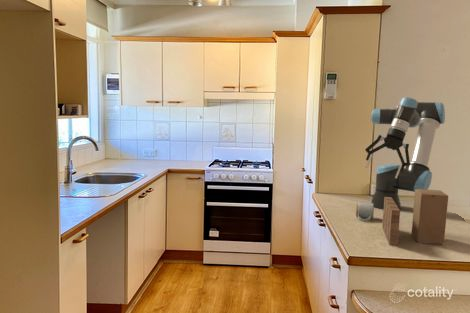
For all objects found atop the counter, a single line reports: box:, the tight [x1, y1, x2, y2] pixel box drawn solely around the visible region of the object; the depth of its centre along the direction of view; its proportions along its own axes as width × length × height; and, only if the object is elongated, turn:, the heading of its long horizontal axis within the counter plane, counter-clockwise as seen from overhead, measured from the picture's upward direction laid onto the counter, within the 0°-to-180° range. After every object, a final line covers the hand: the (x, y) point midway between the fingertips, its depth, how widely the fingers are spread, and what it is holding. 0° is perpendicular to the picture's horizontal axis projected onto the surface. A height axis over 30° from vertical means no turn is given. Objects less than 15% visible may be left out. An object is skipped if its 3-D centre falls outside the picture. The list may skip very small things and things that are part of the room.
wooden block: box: [411, 189, 449, 245], centre depth 158 cm, size 10×10×20 cm
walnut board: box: [381, 197, 401, 247], centre depth 162 cm, size 24×3×14 cm, turn 165°
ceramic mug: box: [355, 202, 375, 223], centre depth 187 cm, size 11×8×8 cm
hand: (380, 172), depth 179 cm, fingers open, 13 cm apart
